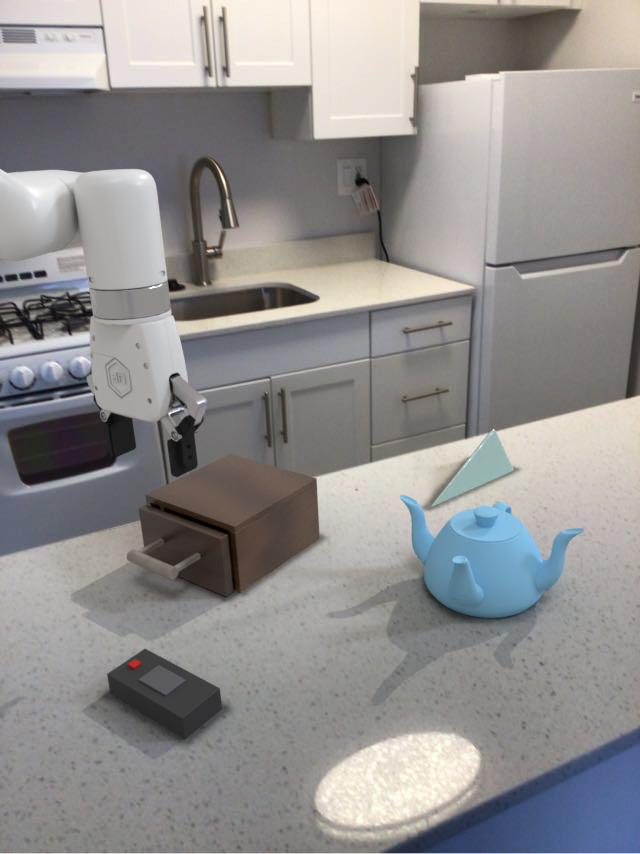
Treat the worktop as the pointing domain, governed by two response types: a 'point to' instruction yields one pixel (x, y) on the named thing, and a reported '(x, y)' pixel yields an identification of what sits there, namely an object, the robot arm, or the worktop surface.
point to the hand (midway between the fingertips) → (153, 462)
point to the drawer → (185, 549)
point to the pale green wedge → (479, 468)
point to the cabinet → (249, 511)
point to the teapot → (485, 560)
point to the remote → (165, 692)
